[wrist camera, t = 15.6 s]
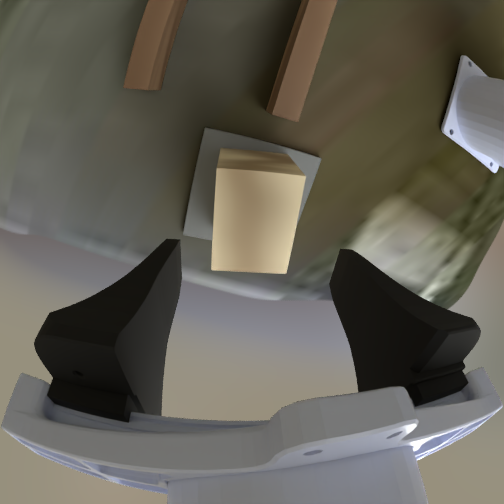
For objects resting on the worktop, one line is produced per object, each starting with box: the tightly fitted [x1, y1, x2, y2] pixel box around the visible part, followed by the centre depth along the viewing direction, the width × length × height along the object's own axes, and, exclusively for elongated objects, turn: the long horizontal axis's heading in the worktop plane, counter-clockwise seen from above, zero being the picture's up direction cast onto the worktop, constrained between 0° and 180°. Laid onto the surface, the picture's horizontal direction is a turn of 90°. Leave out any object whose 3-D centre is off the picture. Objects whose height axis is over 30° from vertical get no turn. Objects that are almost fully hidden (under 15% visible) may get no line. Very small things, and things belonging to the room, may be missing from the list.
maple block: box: [211, 148, 306, 274], centre depth 17 cm, size 4×6×5 cm
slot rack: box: [123, 0, 337, 122], centre depth 12 cm, size 10×11×3 cm
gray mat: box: [183, 127, 321, 241], centre depth 19 cm, size 8×8×1 cm
